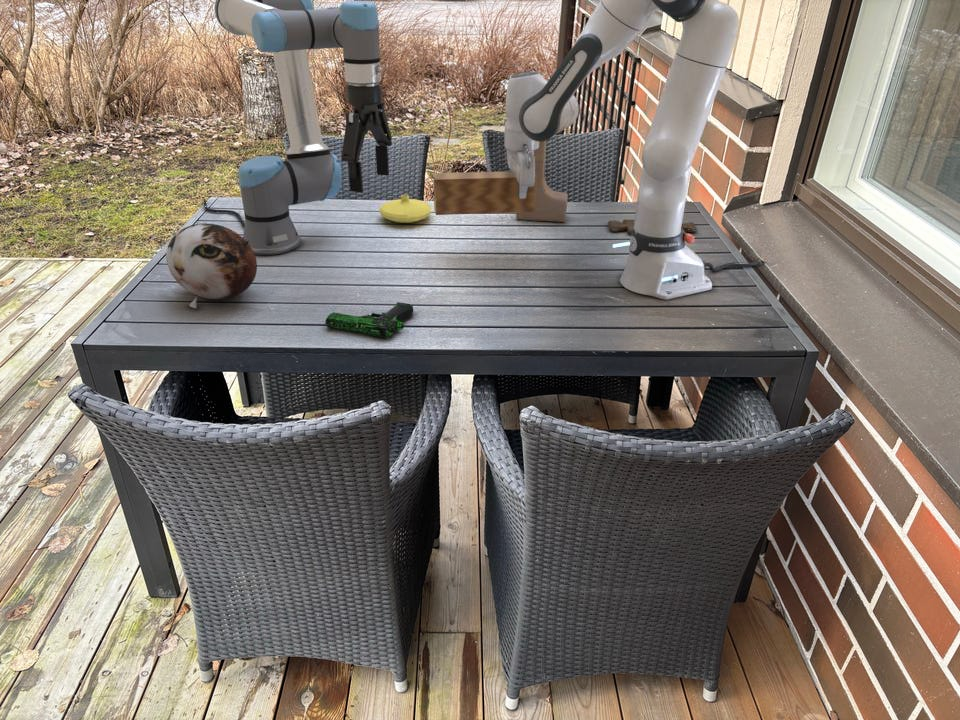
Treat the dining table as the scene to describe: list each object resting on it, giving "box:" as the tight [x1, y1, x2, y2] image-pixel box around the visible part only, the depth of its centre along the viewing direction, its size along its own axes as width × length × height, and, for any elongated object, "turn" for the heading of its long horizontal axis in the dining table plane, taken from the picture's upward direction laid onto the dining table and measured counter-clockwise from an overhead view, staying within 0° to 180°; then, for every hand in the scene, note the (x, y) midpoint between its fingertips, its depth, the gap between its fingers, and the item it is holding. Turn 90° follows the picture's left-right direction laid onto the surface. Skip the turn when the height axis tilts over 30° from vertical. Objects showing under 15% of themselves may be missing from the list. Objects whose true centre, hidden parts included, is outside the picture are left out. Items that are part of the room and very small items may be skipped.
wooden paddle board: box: [607, 219, 697, 235], centre depth 211 cm, size 26×2×10 cm
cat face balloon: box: [165, 222, 258, 309], centre depth 165 cm, size 22×18×20 cm
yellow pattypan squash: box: [378, 194, 433, 224], centre depth 215 cm, size 16×16×7 cm
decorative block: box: [515, 140, 568, 223], centre depth 212 cm, size 8×15×30 cm, turn 82°
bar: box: [433, 170, 537, 216], centre depth 187 cm, size 26×6×9 cm, turn 98°
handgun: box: [324, 301, 414, 339], centre depth 158 cm, size 16×3×15 cm
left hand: (370, 182), depth 161 cm, fingers open, 13 cm apart
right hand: (519, 193), depth 188 cm, fingers closed on bar, 5 cm apart
